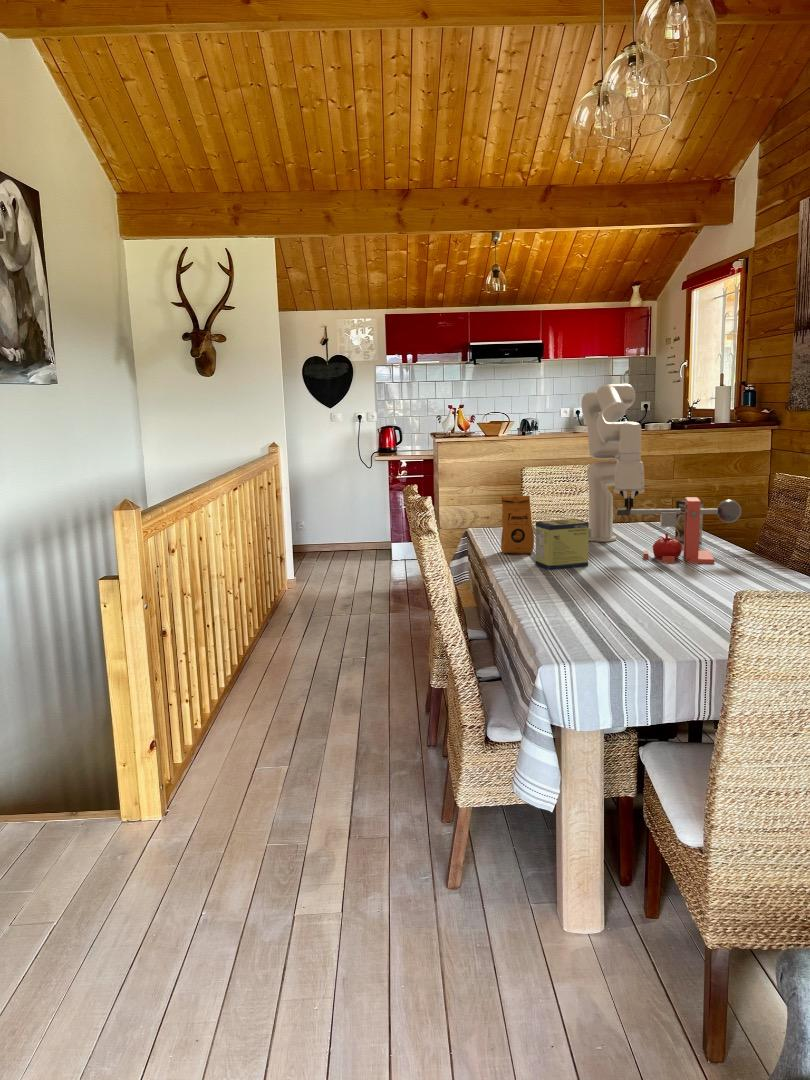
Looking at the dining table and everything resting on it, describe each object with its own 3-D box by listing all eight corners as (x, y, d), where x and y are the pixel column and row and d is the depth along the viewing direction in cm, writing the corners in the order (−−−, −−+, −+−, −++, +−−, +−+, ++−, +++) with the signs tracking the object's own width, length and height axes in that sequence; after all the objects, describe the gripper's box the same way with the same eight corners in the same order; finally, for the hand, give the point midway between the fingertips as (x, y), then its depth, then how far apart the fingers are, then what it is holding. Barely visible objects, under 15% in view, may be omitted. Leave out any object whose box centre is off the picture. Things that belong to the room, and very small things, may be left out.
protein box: (589, 566, 273) (589, 521, 270) (548, 570, 268) (548, 525, 265) (573, 560, 282) (574, 518, 280) (534, 564, 278) (534, 521, 275)
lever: (617, 527, 281) (617, 502, 279) (617, 523, 288) (617, 499, 287) (742, 527, 270) (743, 501, 268) (739, 523, 277) (739, 498, 276)
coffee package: (534, 555, 294) (534, 496, 290) (500, 555, 296) (500, 497, 292) (533, 550, 304) (533, 493, 300) (501, 550, 306) (500, 494, 302)
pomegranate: (676, 562, 275) (677, 536, 273) (648, 559, 281) (649, 534, 279) (685, 557, 283) (686, 531, 281) (658, 554, 289) (658, 529, 287)
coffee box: (674, 539, 317) (675, 500, 314) (687, 538, 319) (689, 499, 316) (688, 543, 308) (690, 502, 306) (702, 542, 310) (704, 501, 307)
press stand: (644, 562, 276) (645, 501, 273) (643, 553, 292) (644, 496, 288) (714, 563, 270) (716, 502, 267) (709, 554, 286) (711, 496, 282)
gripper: (607, 458, 278) (607, 510, 281) (652, 458, 274) (650, 510, 277) (608, 457, 285) (607, 507, 288) (651, 457, 281) (650, 508, 284)
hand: (628, 509), depth 282 cm, fingers closed
